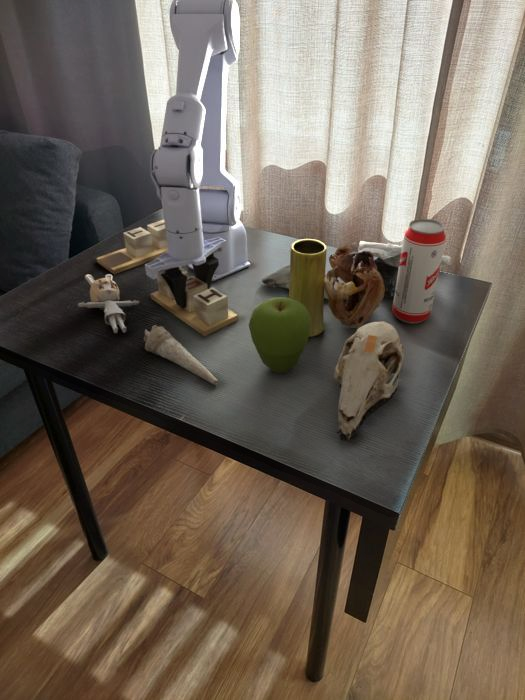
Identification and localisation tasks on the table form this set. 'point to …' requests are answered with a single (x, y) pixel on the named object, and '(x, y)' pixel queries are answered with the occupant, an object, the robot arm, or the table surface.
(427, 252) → the beer can
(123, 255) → the board
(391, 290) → the rock
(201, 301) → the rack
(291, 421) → the table surface
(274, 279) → the fossil
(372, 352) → the animal skull replica
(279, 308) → the apple
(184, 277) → the robot arm
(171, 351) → the seashell
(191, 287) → the s tile
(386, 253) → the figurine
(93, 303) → the toy
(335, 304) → the dried fish head
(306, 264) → the vase
